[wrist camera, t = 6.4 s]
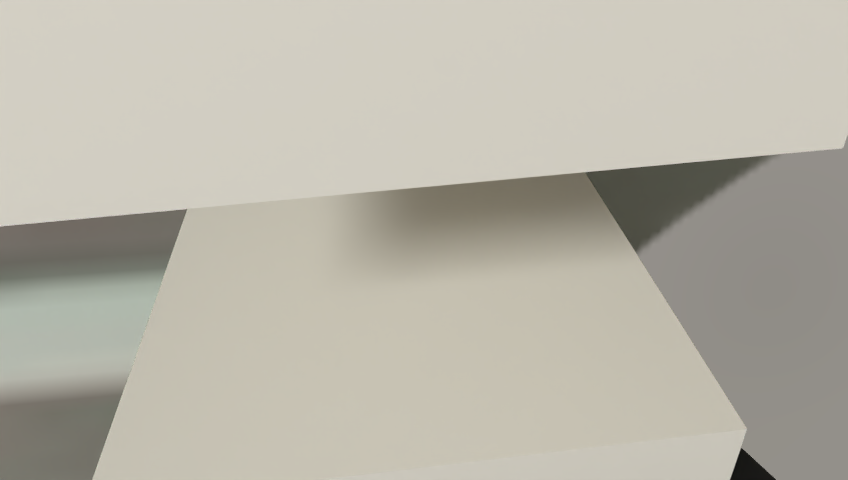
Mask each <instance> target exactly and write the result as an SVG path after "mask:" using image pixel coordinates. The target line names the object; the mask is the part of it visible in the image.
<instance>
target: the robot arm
mask: <svg viewBox="0 0 848 480" xmlns="http://www.w3.org/2000/svg"><path fill="white" fill-rule="evenodd" d="M730 480H776V479H775V478H774V477H772V476H771V475H770V474H769V473H768V472H767V471H766V470H765V469H764V468H763V467H762V466H760V465H759V464H758V463H757V462H756V461H755V460H754V459H753V458H752V457H751V456H750V455H748V453H746V452H745V451H744V450H743V449H742V448H741V449H740V452H739V455H738V458H737V461H736V464H735V467H734V470H733V472H732V475H731V478H730Z"/></svg>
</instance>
